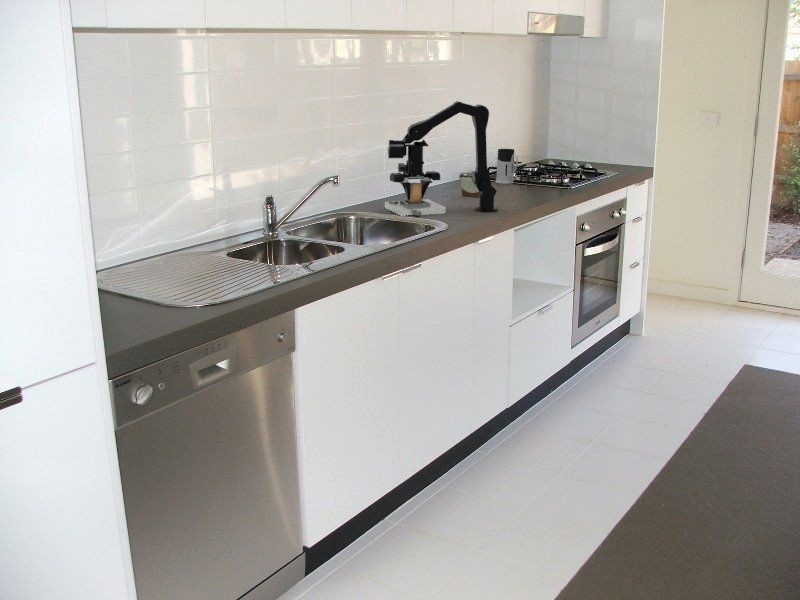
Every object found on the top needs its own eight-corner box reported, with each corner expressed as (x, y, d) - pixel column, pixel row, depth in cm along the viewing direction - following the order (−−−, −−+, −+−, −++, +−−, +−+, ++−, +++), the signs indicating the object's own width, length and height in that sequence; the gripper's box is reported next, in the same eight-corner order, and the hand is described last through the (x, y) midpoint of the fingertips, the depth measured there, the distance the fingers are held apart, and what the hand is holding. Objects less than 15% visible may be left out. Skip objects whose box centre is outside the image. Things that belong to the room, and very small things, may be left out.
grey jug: (508, 180, 415) (509, 148, 411) (524, 184, 403) (525, 151, 399) (491, 181, 412) (493, 148, 408) (507, 185, 400) (509, 152, 395)
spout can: (423, 205, 337) (423, 184, 334) (410, 205, 335) (411, 184, 333) (416, 202, 343) (416, 181, 341) (404, 202, 341) (404, 182, 339)
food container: (491, 197, 369) (492, 173, 366) (485, 199, 364) (485, 175, 361) (464, 194, 375) (465, 171, 372) (458, 197, 370) (458, 173, 367)
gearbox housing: (448, 215, 331) (448, 205, 330) (403, 217, 325) (403, 208, 324) (427, 205, 350) (427, 196, 349) (384, 208, 344) (384, 199, 343)
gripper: (430, 154, 343) (429, 194, 348) (385, 156, 337) (385, 197, 342) (441, 158, 333) (440, 199, 338) (394, 160, 327) (394, 201, 332)
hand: (414, 199), depth 338 cm, fingers closed on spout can, 5 cm apart
